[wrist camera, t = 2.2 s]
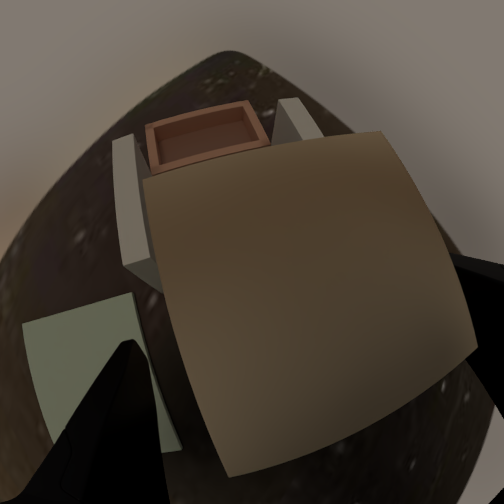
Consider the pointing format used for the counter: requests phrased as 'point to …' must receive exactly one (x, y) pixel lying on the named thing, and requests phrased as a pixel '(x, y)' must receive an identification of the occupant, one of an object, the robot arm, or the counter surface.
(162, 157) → the tray
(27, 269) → the counter surface
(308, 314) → the beech post
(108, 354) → the green mat
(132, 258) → the channel
